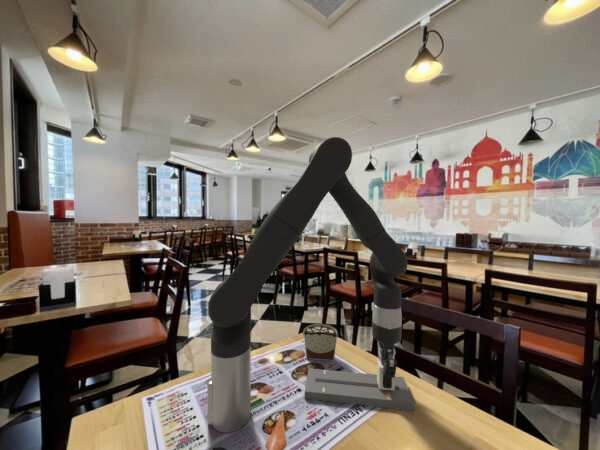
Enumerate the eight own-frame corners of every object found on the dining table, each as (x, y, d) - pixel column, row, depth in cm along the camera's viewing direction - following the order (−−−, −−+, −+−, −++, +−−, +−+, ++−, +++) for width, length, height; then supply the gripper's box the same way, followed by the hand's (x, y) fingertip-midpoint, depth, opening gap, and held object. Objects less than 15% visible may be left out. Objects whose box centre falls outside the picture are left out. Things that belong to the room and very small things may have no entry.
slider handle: (379, 389, 66) (379, 367, 66) (376, 380, 69) (377, 359, 69) (394, 390, 65) (395, 368, 65) (391, 381, 69) (391, 361, 68)
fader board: (304, 398, 65) (304, 390, 65) (308, 374, 75) (308, 368, 75) (414, 410, 62) (414, 402, 61) (403, 383, 71) (403, 376, 71)
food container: (337, 351, 89) (337, 324, 88) (338, 361, 83) (338, 332, 82) (303, 349, 90) (303, 322, 90) (302, 358, 84) (302, 330, 83)
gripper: (369, 310, 74) (368, 365, 75) (377, 332, 60) (375, 399, 61) (394, 311, 73) (393, 367, 74) (409, 334, 59) (407, 403, 60)
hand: (385, 381), depth 67 cm, fingers closed on slider handle, 3 cm apart
